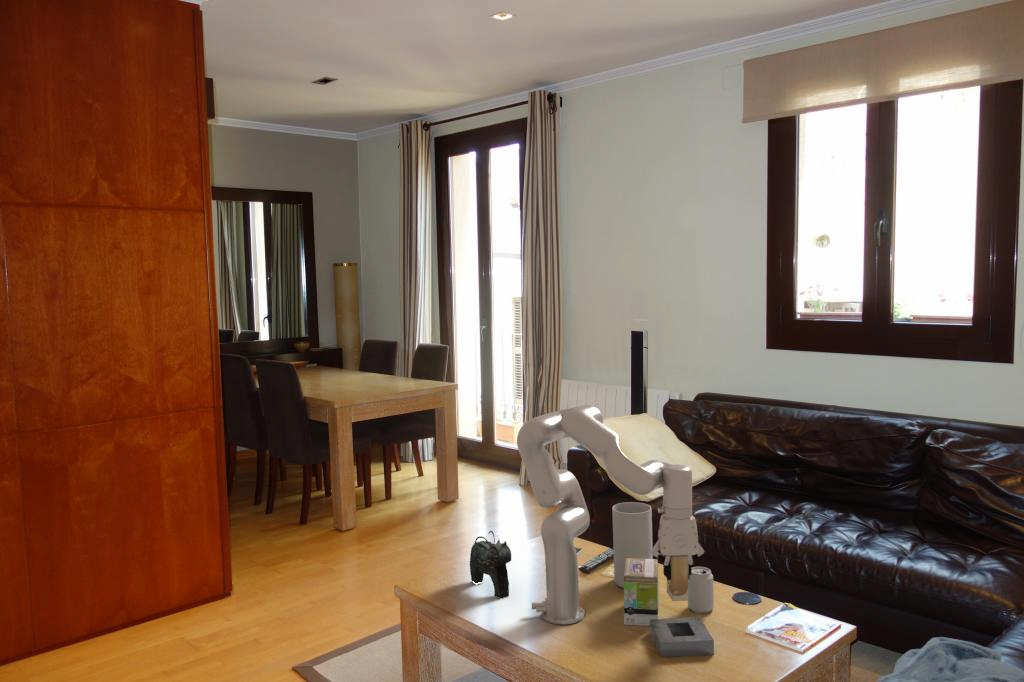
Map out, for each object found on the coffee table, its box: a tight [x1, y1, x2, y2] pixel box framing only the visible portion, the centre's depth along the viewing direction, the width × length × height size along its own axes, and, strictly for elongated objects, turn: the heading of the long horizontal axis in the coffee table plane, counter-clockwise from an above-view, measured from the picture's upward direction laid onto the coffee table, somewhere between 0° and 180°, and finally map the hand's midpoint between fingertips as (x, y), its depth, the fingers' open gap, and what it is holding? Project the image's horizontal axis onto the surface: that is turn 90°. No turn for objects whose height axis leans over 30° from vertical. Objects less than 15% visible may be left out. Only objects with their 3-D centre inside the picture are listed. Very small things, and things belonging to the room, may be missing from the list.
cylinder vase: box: [612, 501, 654, 589], centre depth 254 cm, size 12×12×25 cm
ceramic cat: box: [469, 530, 512, 599], centre depth 253 cm, size 20×6×20 cm, turn 34°
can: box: [687, 566, 715, 614], centre depth 233 cm, size 8×8×12 cm
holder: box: [649, 616, 715, 658], centre depth 212 cm, size 14×14×4 cm
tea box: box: [623, 558, 660, 627], centre depth 230 cm, size 15×10×15 cm, turn 170°
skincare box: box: [666, 556, 689, 602], centre depth 211 cm, size 6×4×12 cm
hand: (677, 577), depth 211 cm, fingers closed on skincare box, 4 cm apart
